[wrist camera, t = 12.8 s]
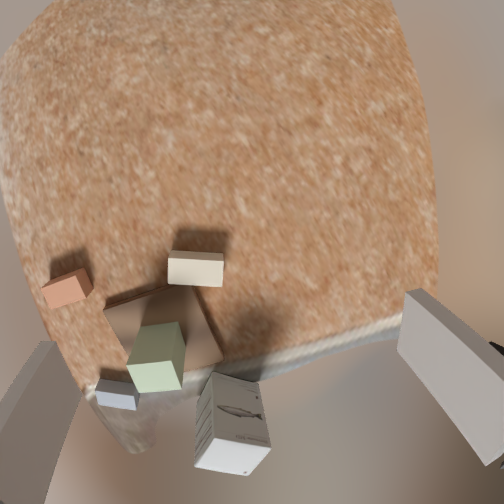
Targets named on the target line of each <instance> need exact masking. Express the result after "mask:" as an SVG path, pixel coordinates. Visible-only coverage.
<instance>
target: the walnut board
mask: <svg viewBox="0 0 504 504" xmlns="http://www.w3.org/2000/svg"><path fill="white" fill-rule="evenodd" d="M103 312H104V314H105V316H106V318H107V320H108V322H109V324H110V325H111V327H112V329H113V331H114V333H115V334H116V336H117V338H118V339H119V341H120V343H121V345H122V346H123V348H124V350H125V351H126V353H127V355H128V356H130V353H131V350H132V348H133V345H134V342H135V339H136V337H137V334H138V331H139V329H140V327H143V326H150V325H158V324H164V323H171V322H178V323H179V326H180V330H181V333H182V336H183V340H184V343H185V346H186V352H185V362H184V371H183V372H186V371H190V370H194V369H197V368H201V367H204V366H208V365H211V364H215V363H218V362H222V361H225V360H224V354H223V352H222V350H221V348H220V346H219V343H218V341H217V339H216V337H215V335H214V332H213V330H212V328H211V326H210V324H209V321H208V319H207V317H206V315H205V312H204V310H203V308H202V306H201V303H200V301H199V299H198V296H197V294H196V292H195V289H194V287H193V285H179V284H170V285H167V286H164V287H161V288H159V289H156V290H153V291H150V292H147V293H144V294H141V295H138V296H135V297H132V298H129V299H126V300H123V301H120V302H117V303H114V304H111V305H108V306H105V308H104V309H103Z"/></svg>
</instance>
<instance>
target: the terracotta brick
mask: <svg viewBox="0 0 504 504" xmlns="http://www.w3.org/2000/svg"><path fill="white" fill-rule="evenodd" d="M93 289H94V288H93V286H92V284H91V282H90V280H89V277H88V275H87V273H86V271H85V268H81V269H78V270H75V271H73V272H70V273H67V274H65V275H62V276H60V277H57V278H54V279H52V280H50V281H49V282H47V283H46V284H45V285H44V286H43V287H42V288H41V291H42V293H43V295H44V297H45V299H46V301H47V303H48V305H49V307H50V309H54V308H57V307H60V306H63V305H67V304H70V303H73V302H76V301H79V300H82V299H85V298H87V296H88V295H89V294H90V293H91V291H92V290H93Z"/></svg>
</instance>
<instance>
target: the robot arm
mask: <svg viewBox="0 0 504 504" xmlns="http://www.w3.org/2000/svg"><path fill="white" fill-rule="evenodd" d="M397 351H398V353H399V354H400V355H401V356H402V357H403V359H404V360H405V361H406V362H407V364H408V365H409V366H410V367H411V369H412V370H413V371H414V372H415V374H416V375H417V376H418V377H419V378H420V380H421V381H422V382H423V383H424V385H425V386H426V387H427V389H428V390H429V391H430V392H431V394H432V395H433V396H434V397H435V399H436V400H437V401H438V403H439V404H440V405H441V406H442V408H443V409H444V410H445V412H446V413H447V414H448V416H449V417H450V418H451V420H452V421H453V422H454V424H455V425H456V426H457V428H458V429H459V430H460V432H461V433H462V434H463V436H464V437H465V438H466V440H467V441H468V442H469V444H470V445H471V446H472V448H473V449H474V451H475V452H476V453H477V455H478V456H479V458H480V459H481V460H482V462H483V463H484V465H485V466H487V465H488V464H490V463H491V462H493V461H494V460H495V459H497V458H498V457H499V456H501V455H502V454H503V453H504V347H502V346H500V345H498V344H496V343H494V342H489V343H488V342H487V341H486V340H484V339H483V338H482V337H481V336H480V335H479V334H477V333H476V332H475V331H474V330H473V329H471V328H470V327H469V326H468V325H467V324H465V323H464V322H463V321H462V320H461V319H459V318H458V317H457V316H456V315H455V314H453V313H452V312H451V311H450V310H448V309H447V308H446V307H445V306H443V305H442V304H441V303H440V302H438V301H437V300H436V299H435V298H433V297H432V296H431V295H430V294H428V293H427V292H426V291H424V290H423V289H422V288H419V289H415V290H411V291H407V292H405V300H404V308H403V315H402V322H401V328H400V335H399V340H398V346H397ZM81 397H82V393H81V391H80V389H79V387H78V385H77V384H76V382H75V380H74V378H73V376H72V374H71V372H70V370H69V368H68V366H67V364H66V362H65V360H64V358H63V356H62V354H61V352H60V350H59V347H58V345H57V343H56V341H41V342H40V343H39V345H38V346H37V348H36V349H35V350H34V352H33V353H32V355H31V356H30V357H29V359H28V360H27V362H26V363H25V365H24V366H23V368H22V369H21V371H20V372H19V374H18V375H17V377H16V378H15V380H14V381H13V383H12V384H11V386H10V387H9V389H8V391H7V392H6V394H5V395H4V397H3V399H2V400H1V402H0V504H44V502H45V499H46V495H47V492H48V489H49V485H50V482H51V479H52V476H53V473H54V469H55V466H56V464H57V460H58V458H59V455H60V452H61V449H62V446H63V443H64V441H65V438H66V435H67V433H68V430H69V427H70V425H71V422H72V419H73V417H74V414H75V412H76V409H77V407H78V404H79V402H80V399H81ZM503 468H504V461H503V462H502V464H501V467H500V469H503Z"/></svg>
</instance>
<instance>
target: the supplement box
mask: <svg viewBox="0 0 504 504" xmlns="http://www.w3.org/2000/svg"><path fill="white" fill-rule="evenodd" d="M195 434H196V435H195V462H194V466H195V467H197V468H203V469H208V470H214V471H219V472H225V473H232V474H239V475H246V476H248V475H249V474H250V473H251V472H252V471H253V470H254V468H255V467H256V466H257V465H258V464H259V463H260V462H261V460H262V459H263V458H264V457H265V456H266V455H267V453H268V452H269V451H270V449H271V443H270V438H269V433H268V429H267V424H266V419H265V414H264V409H263V404H262V399H261V394H260V389H259V384H258V383H253V382H249V381H244V380H240V379H237V378H233V377H230V376H226V375H223V374H220V373H217V372H214V371H213V372H212V373H211V376H210V378H209V380H208V382H207V384H206V386H205V388H204V390H203V392H202V394H201V396H200V398H199V400H198V402H197V411H196V433H195Z"/></svg>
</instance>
